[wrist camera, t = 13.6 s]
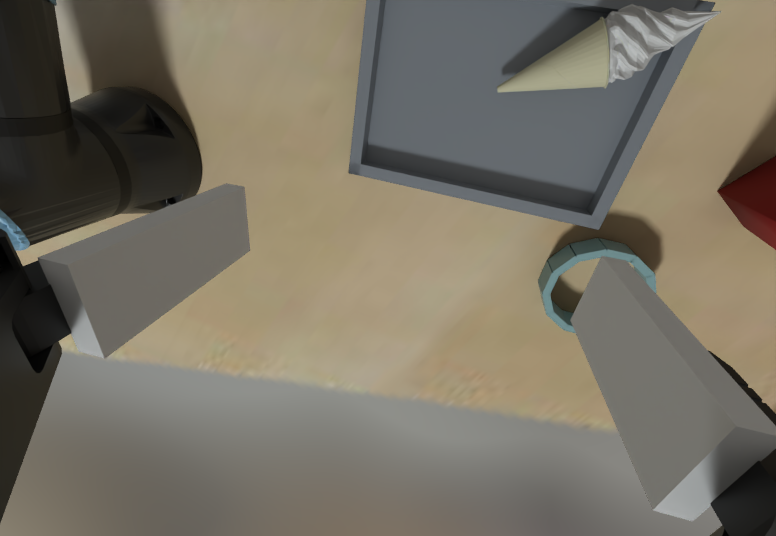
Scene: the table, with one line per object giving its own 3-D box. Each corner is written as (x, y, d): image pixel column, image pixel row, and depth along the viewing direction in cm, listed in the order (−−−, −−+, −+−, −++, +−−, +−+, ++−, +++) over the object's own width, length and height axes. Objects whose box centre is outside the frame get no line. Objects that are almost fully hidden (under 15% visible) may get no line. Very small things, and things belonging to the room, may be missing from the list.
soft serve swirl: (491, 47, 30) (717, -42, 23) (502, 100, 33) (701, 37, 26) (490, 75, 27) (747, -18, 20) (503, 130, 30) (725, 67, 24)
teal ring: (526, 306, 42) (529, 320, 40) (561, 229, 37) (567, 239, 34) (614, 329, 41) (623, 345, 38) (663, 252, 36) (678, 265, 33)
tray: (357, 167, 39) (348, 173, 36) (380, -35, 30) (371, -47, 27) (589, 219, 36) (598, 229, 33) (692, 10, 27) (715, 2, 24)
